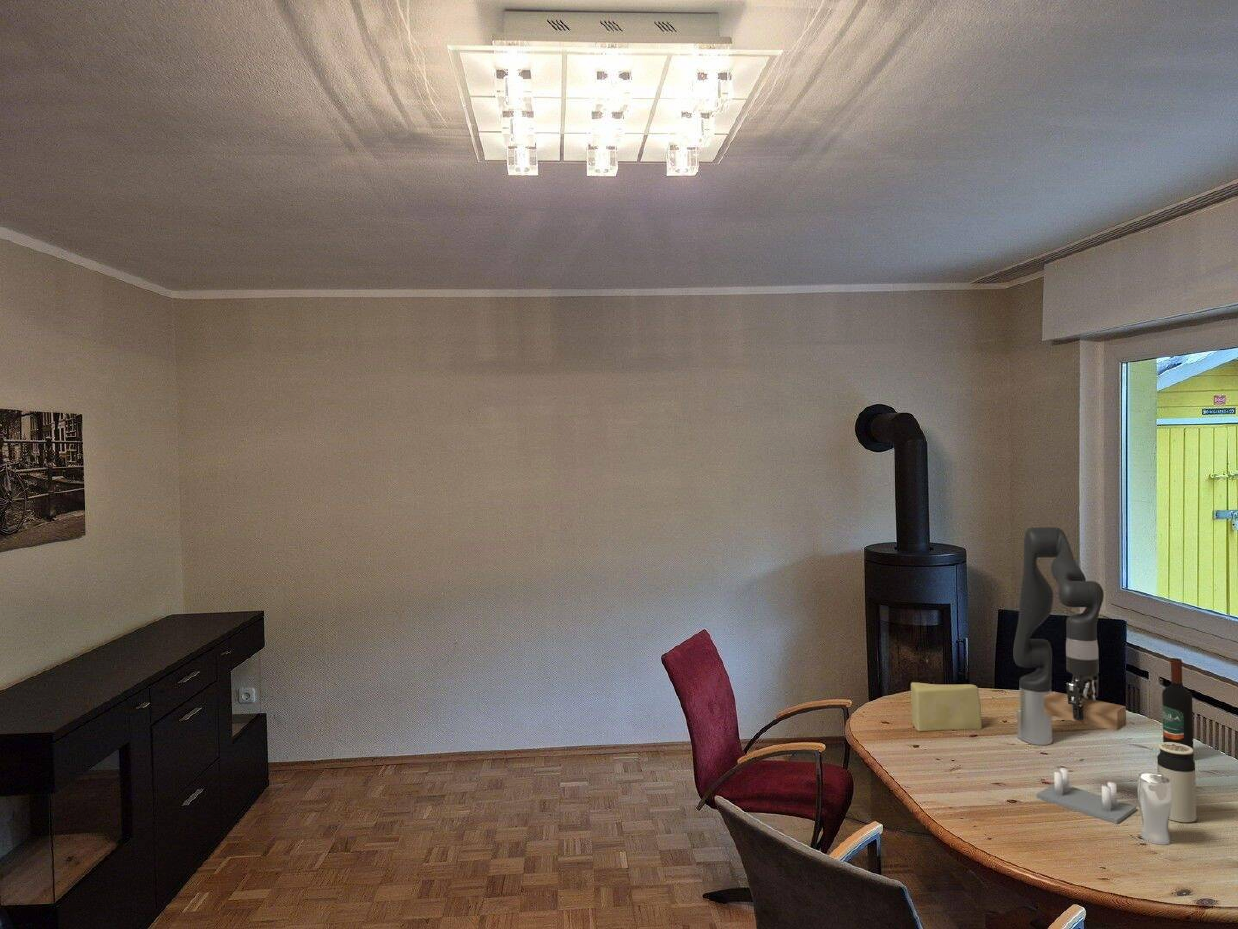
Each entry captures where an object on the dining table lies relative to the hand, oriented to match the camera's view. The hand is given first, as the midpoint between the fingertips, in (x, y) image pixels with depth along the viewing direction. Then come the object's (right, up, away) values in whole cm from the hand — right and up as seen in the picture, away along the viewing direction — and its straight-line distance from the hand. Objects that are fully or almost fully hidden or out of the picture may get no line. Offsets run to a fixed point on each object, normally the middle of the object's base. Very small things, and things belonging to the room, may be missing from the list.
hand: (1083, 716), depth 210 cm
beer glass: (+6, -24, -19) cm, 31 cm away
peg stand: (+1, -24, 0) cm, 24 cm away
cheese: (-12, -23, +60) cm, 65 cm away
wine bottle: (+46, -22, +29) cm, 59 cm away
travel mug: (+19, -23, -8) cm, 31 cm away
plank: (0, -1, 0) cm, 1 cm away
